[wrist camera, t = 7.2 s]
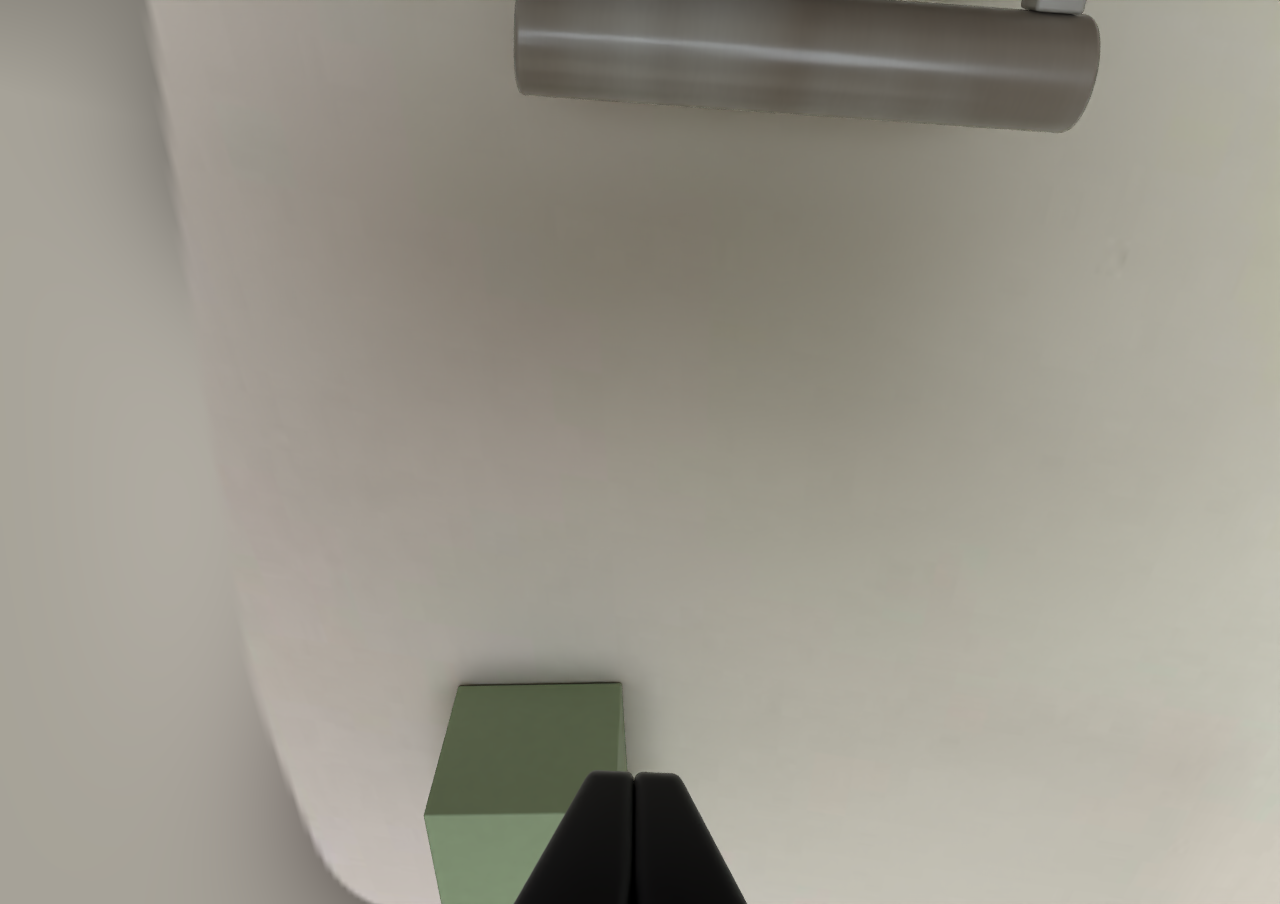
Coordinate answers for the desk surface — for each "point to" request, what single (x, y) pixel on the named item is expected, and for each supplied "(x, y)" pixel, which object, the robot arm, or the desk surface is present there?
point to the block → (514, 780)
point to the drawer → (818, 58)
